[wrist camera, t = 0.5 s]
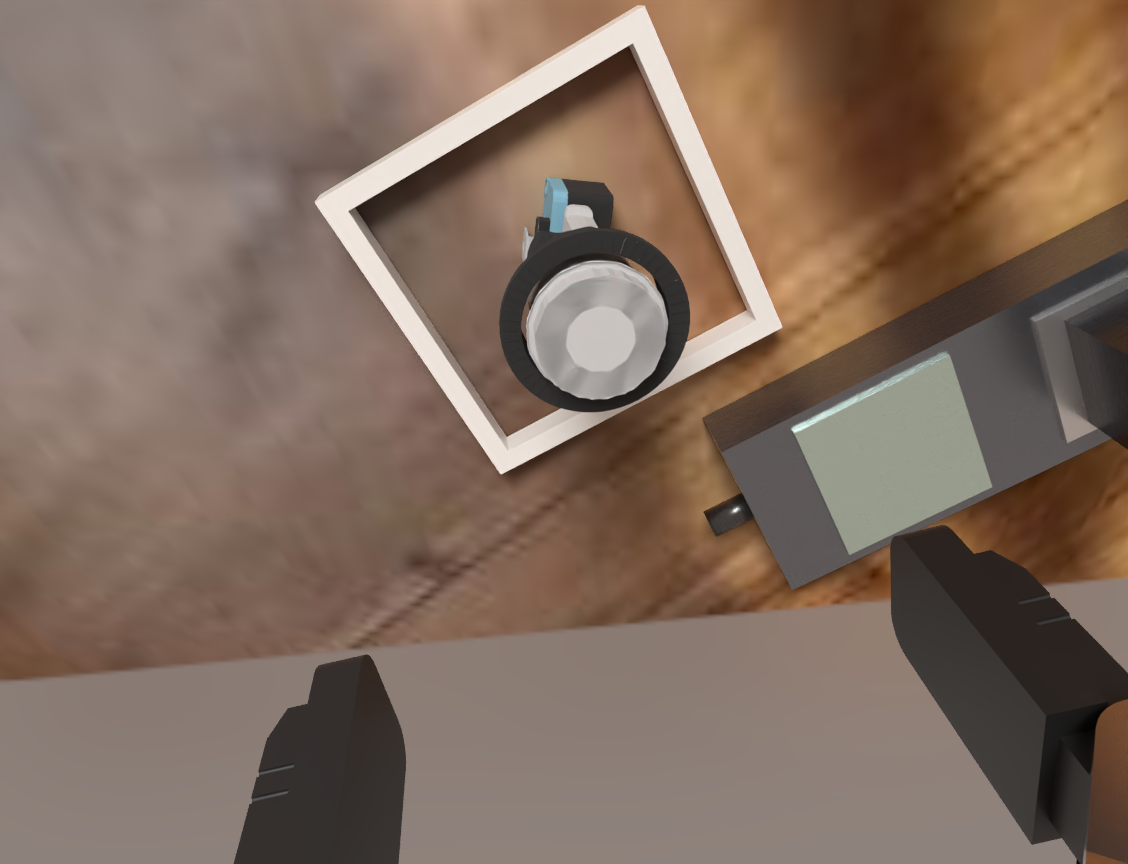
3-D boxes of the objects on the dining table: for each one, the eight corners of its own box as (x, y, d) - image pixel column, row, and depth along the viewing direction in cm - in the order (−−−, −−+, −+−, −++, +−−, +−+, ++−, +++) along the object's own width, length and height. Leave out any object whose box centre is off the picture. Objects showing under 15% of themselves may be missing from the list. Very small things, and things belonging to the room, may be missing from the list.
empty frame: (637, 5, 28) (644, 5, 27) (772, 316, 33) (782, 327, 32) (319, 194, 29) (314, 202, 28) (499, 460, 35) (500, 474, 34)
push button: (617, 346, 33) (671, 473, 24) (483, 337, 33) (490, 464, 24) (643, 176, 30) (716, 250, 21) (496, 161, 30) (510, 232, 21)
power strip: (1293, 114, 32) (1536, 150, 25) (1306, 290, 35) (1522, 366, 28) (664, 437, 35) (715, 551, 28) (735, 566, 39) (796, 696, 32)
